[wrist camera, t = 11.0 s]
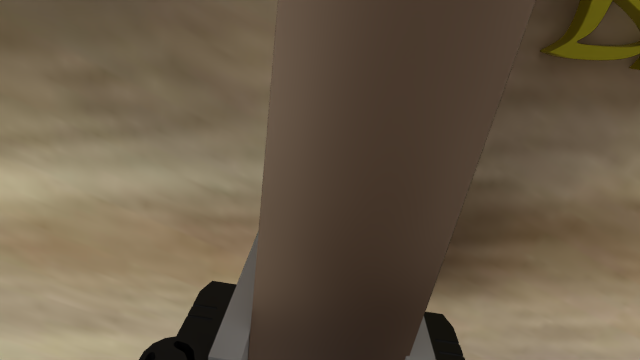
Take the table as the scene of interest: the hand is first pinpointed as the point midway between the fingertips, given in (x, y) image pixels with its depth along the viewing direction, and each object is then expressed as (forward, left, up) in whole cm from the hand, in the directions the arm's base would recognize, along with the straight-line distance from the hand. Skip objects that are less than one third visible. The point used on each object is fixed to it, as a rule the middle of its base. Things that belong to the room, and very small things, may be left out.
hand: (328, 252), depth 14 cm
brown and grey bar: (0, 0, 0) cm, 0 cm away
